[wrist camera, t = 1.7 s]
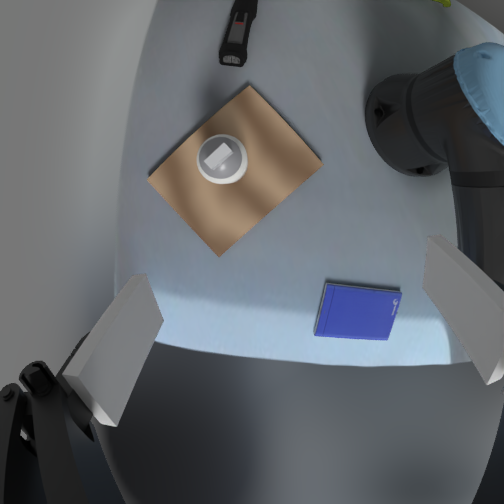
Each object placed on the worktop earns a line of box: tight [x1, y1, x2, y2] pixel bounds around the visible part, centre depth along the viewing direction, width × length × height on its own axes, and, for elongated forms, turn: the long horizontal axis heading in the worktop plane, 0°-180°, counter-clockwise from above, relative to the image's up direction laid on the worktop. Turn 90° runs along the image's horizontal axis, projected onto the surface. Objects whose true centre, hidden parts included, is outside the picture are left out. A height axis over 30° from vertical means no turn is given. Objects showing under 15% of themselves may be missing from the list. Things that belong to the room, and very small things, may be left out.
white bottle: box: [197, 134, 248, 184], centre depth 30 cm, size 5×5×12 cm
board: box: [147, 85, 324, 257], centre depth 36 cm, size 18×14×1 cm
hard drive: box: [314, 283, 402, 340], centre depth 41 cm, size 2×8×12 cm
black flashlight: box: [219, 0, 258, 67], centre depth 31 cm, size 4×16×3 cm, turn 169°
